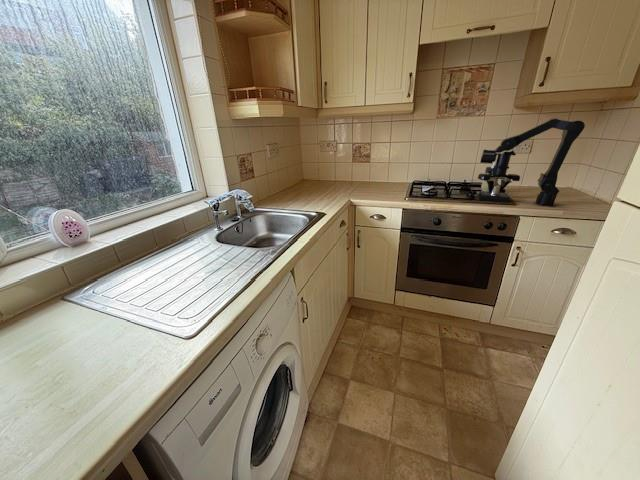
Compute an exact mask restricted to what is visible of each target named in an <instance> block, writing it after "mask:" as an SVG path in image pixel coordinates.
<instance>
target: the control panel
mask: <svg viewBox="0 0 640 480" xmlns="http://www.w3.org/2000/svg"><path fill="white" fill-rule="evenodd" d="M478 198H479V201H484V202H485V201H487V202H495V203H497V202H498V203H508V204H509V201H510V198H511V197H510V195H508V193H507V192H501V193H499V195H493V194H490V193H489V192H486V191H482V190H479V194H478Z"/></svg>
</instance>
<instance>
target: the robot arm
mask: <svg viewBox="0 0 640 480" xmlns="http://www.w3.org/2000/svg"><path fill="white" fill-rule="evenodd" d="M585 128H586V124H585V122H584V121H583V120H571V121H569V120H563V119H558V118H550V119H548V120H546V121H545V122H543V123H541V124H538V125H536V126H534V127H531V128H530V129H528V130H526V131H524V132H522V133H519V134H516V135H512V136H509V137H507V138H504V139H503V140H501V141H500V144H499V146H498V147H496V148H495V149H494V150H493V149H483V151H482V154H481V156H480V161H479V162H480V164H493V163H494V162H496V165H494V167H493V168H491V167H492V166H486V168H485V170H484V173H479V174H478V175H477V179H478V180H480V181H483V180H485V181H487V184H488V189H489V193H491V191H492V188H493V185H494V181H493V179H498V180H500V186H501V189H500V192H499V193H502V192H503V191H504V189H505V188H506V187H507V186H508V185H509V184H510V183H511V184H512V182H520V180H521V175H519V174H516V173H507V172H508V169H510V166H509V165H510V161H511V157H512V156H516V155H517V154H516V153H515V150H513V149H514V148H516V147H518V146H519V145H520V144H522V143H523V142H525V141H527V140H530V139H532V138H533V137H536V136H538V135H540V134H543V133H544V132H546V131H550V129H557V130H560V131H561V130H562V133H561V141H560V142H559V144H558V148H557V149H556V151H555V154H554V156H553V158H552V160H551V162H550V164H549V166H548V168H547V170H546V171H545V173H543V172H542V173H540V175H539V178H538V179H537V180H536V181H537V185H538V187H539V188H540V191H539V193H538V194H537V197H536V199H535V203H536V204H537V205H539V206H547V207H555V201H556V198H557V196H558V194H559V193H560V190H559V188H558V187H557V186H556V185H557V182H558V177H559V174H558V173H559V171H560V169H561V167H562V165H563V163H564V161H565V159H566V158H567V155H568V153H569V150H570V149H571V147H572V145H573V143H574V142H575V141H576V140H577V138H579V136H580V135H581V133H582V132H583V131H584V129H585ZM486 173H489V174H486Z"/></svg>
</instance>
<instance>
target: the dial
mask: <svg viewBox="0 0 640 480" xmlns="http://www.w3.org/2000/svg"><path fill="white" fill-rule="evenodd" d="M500 185H501V184H500ZM500 185H499V184H497V185H493V188H492V191H491V193H490V194H493V195H499V192H500V189H501V186H500Z"/></svg>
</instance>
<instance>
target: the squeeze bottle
mask: <svg viewBox="0 0 640 480" xmlns="http://www.w3.org/2000/svg"><path fill="white" fill-rule="evenodd" d="M494 165H496V161H495V162H492V166H490V167H491V168H493V167H494ZM485 174H489V173H485ZM493 181H494V185H498V182H499V179H493ZM480 188H481V191H486V192H489V189H488V184H487V181H485V180H482V183H481V186H480Z"/></svg>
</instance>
